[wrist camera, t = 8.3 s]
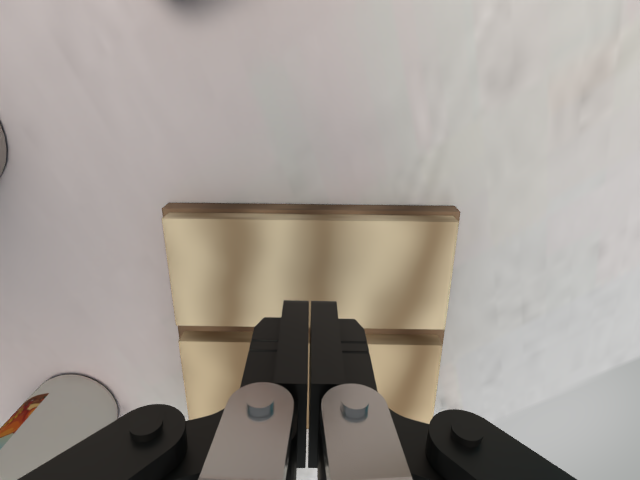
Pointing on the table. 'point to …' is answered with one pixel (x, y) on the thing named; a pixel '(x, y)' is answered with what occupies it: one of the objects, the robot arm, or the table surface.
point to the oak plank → (310, 267)
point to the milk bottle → (53, 423)
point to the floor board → (234, 341)
